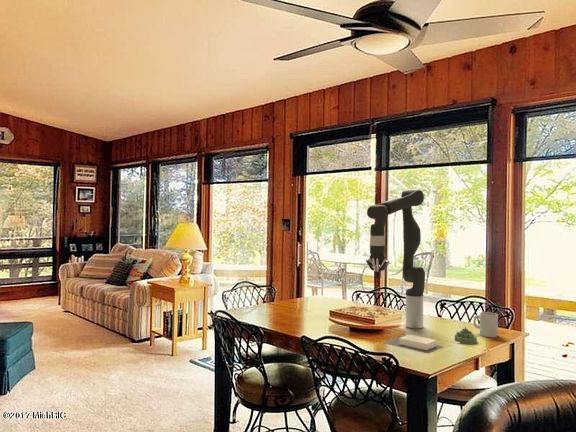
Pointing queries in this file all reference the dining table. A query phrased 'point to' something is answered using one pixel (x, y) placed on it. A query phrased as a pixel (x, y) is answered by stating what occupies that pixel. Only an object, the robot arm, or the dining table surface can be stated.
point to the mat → (396, 343)
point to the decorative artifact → (465, 337)
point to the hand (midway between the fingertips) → (377, 278)
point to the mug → (487, 324)
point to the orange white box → (418, 342)
